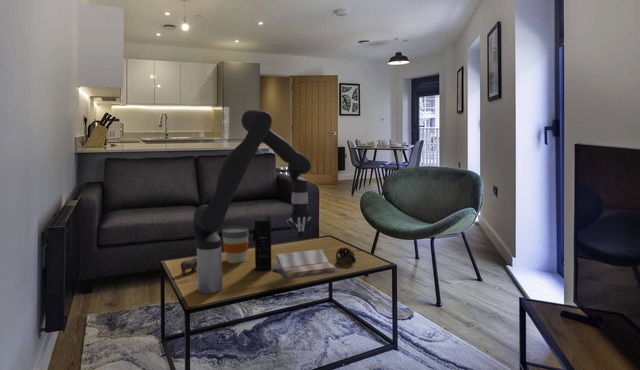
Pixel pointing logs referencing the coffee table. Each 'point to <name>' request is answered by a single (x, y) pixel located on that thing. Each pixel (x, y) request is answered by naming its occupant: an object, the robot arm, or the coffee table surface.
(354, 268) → the coffee table surface
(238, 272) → the coffee table surface
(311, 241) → the coffee table surface
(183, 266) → the rhino figurine
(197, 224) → the robot arm
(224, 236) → the reusable coffee cup
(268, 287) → the coffee table surface
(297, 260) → the plank
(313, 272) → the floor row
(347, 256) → the pottery mug
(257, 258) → the portable radio
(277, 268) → the underlay mat
